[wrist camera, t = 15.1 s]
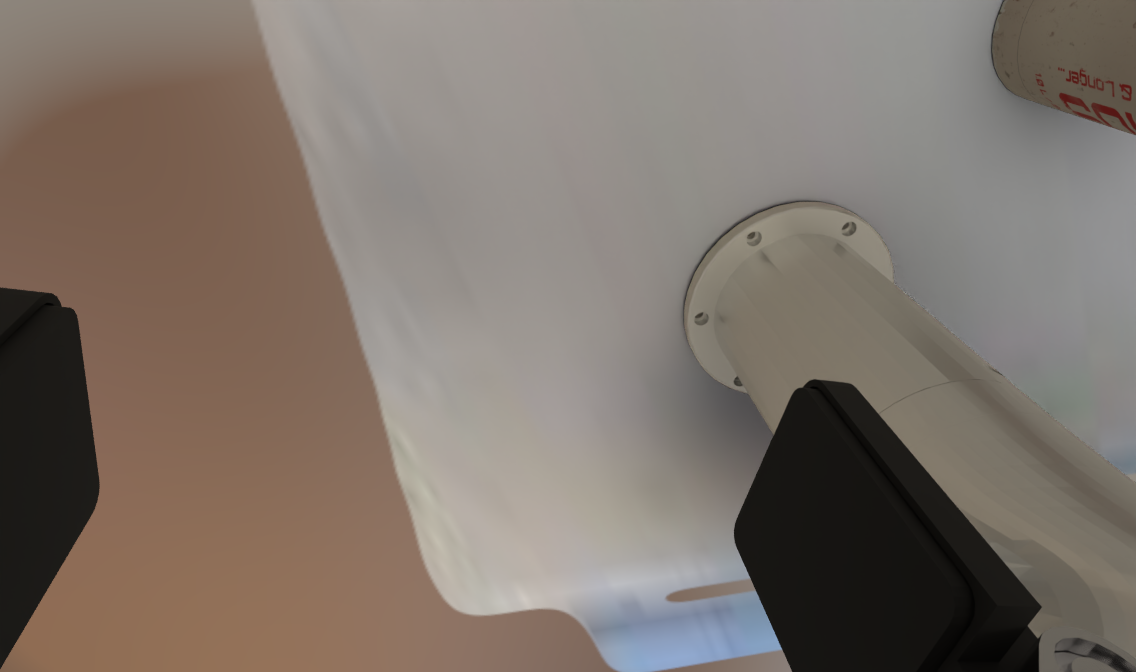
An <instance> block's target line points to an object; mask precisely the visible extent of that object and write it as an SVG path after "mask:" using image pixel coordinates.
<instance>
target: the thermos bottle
mask: <svg viewBox="0 0 1136 672" xmlns="http://www.w3.org/2000/svg"><path fill="white" fill-rule="evenodd" d="M992 54H993V61H994V66H995V69H996V71H997V74H998V77H999V78H1000V80H1001V81H1002V82H1003V84H1004V85H1005V87H1006V88H1008V89H1009V90H1010V91H1011V92H1013V93H1014V94H1015V95H1018V96H1020V97H1023V98H1025V99H1028V100H1031V101H1034V102H1037V103H1040V104H1043V105H1046V106H1049V107H1052V108H1055V109H1058V110H1061V111H1064V112H1067V113H1070V114H1073V115H1076V116H1079V117H1082V118H1085V119H1088V120H1091V121H1094V122H1097V123H1100V124H1103V125H1106V126H1109V127H1112V128H1115V129H1118V130H1121V131H1124V132H1127V133H1130V134H1133V135H1136V0H1004V2H1003V5H1002V7H1001V10H1000V12H999V15H998V17H997V20H996V24H995V29H994V33H993V43H992Z"/></svg>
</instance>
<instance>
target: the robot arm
mask: <svg viewBox="0 0 1136 672" xmlns="http://www.w3.org/2000/svg"><path fill="white" fill-rule="evenodd" d="M751 232H752V234H751V235H750V236H748V235H749V234H750V233H751ZM698 313H699V314H698ZM684 327H685V331H686V335H687V339H688V343H689V345H690V347H691V349H692V351H693V353H694V355H695V357H696V358H697V360H698V361H699V363H700V364H701V366H702V367H703V369H704V370H705V371H706V372H707V373H708V374H709V375H711V376H712V377H713V378H714V379H715V380H716V381H718V382H720V383H721V384H723V385H725V386H727V387H728V388H731V389H734V390H737V391H740V392H743V393H748V394H749V396H750V397H751V399H752V401H753V402H754V404H755V405H756V407H757V409H758V410H759V412H760V414H761V415H762V417H763V419H764V420H765V422H766V423H767V425H768V427H769V428H770V430H771V432H772V433H773V435H774V436H773V438H772V440H771V443H770V445H769V447H768V449H767V452H766V454H765V456H764V458H763V461H762V463H761V465H760V467H759V470H758V472H757V474H756V477H755V479H754V481H753V483H752V486H751V488H750V490H749V492H748V495H747V497H746V499H745V501H744V504H743V506H742V508H741V510H740V513H739V515H738V517H737V520H736V523H735V528H734V538H735V544H736V547H737V549H738V551H739V554H740V556H741V558H742V560H743V563H744V565H745V567H746V569H747V572H748V574H749V576H750V578H751V580H752V583H753V585H754V587H755V589H756V592H757V594H758V596H759V598H760V601H761V603H762V605H763V607H764V610H765V612H766V614H767V616H768V618H769V621H770V623H771V625H772V627H773V630H774V632H775V634H776V636H777V639H778V641H779V643H780V645H781V648H782V650H783V652H784V654H785V656H786V659H787V661H788V663H789V665H790V668H791V670H792V672H1136V482H1134V481H1133V480H1131V479H1130V478H1129V477H1127V476H1126V475H1125V474H1124V473H1122V472H1121V471H1120V470H1118V469H1117V468H1116V467H1115V466H1113V465H1112V464H1111V463H1110V462H1108V461H1107V460H1106V459H1104V458H1103V457H1102V456H1101V455H1099V454H1098V453H1097V452H1095V451H1094V450H1093V449H1092V448H1090V447H1089V446H1088V445H1087V444H1085V443H1084V442H1083V441H1081V440H1080V439H1079V438H1078V437H1076V436H1075V435H1074V434H1073V433H1071V432H1070V431H1069V430H1067V429H1066V428H1065V427H1064V426H1063V425H1061V424H1060V423H1059V422H1058V421H1057V420H1055V419H1054V418H1053V417H1052V416H1050V415H1049V414H1048V413H1047V412H1046V411H1044V410H1043V409H1042V408H1041V407H1040V406H1039V405H1037V404H1036V403H1035V402H1034V401H1033V400H1031V399H1030V398H1029V397H1028V396H1027V395H1025V394H1024V393H1023V392H1021V391H1020V390H1019V389H1018V388H1017V387H1015V386H1014V385H1013V384H1012V383H1011V382H1010V381H1008V380H1007V379H1006V378H1005V377H1004V376H1003V375H1002V374H1000V373H999V372H998V371H997V370H996V369H994V368H993V367H992V366H991V365H990V364H989V363H987V362H986V361H985V360H984V359H983V358H981V357H980V356H979V355H978V354H977V353H975V352H974V351H973V350H972V349H971V348H970V347H968V346H967V345H966V344H965V343H964V342H962V341H961V340H960V339H959V338H958V337H956V336H955V335H954V334H953V333H952V332H951V331H949V330H948V329H947V328H946V327H945V326H943V325H942V324H941V323H940V322H939V321H937V320H936V319H935V318H934V317H933V316H931V315H930V314H929V313H928V312H927V311H926V310H924V309H923V308H922V307H921V306H920V305H918V304H917V303H916V302H915V301H914V300H912V299H911V298H910V297H909V296H908V295H907V294H905V293H904V292H903V291H902V290H901V289H899V288H898V287H897V286H896V285H895V284H894V274H893V264H892V260H891V257H890V253H889V250H888V248H887V246H886V245H885V243H884V241H883V240H882V238H881V236H880V235H879V234H878V233H877V232H876V231H875V230H874V229H873V228H872V227H871V226H870V225H869V224H868V223H867V222H866V221H864V220H863V219H862V218H860V217H859V216H857V215H856V214H855V213H853V212H850V211H848V210H846V209H844V208H842V207H839V206H837V205H832V204H827V203H822V202H796V203H790V204H785V205H780V206H776V207H773V208H771V209H768V210H766V211H763V212H760V213H758V214H756V215H754V216H752V217H750V218H749V219H747V220H745V221H743V222H742V223H740V224H738V225H737V226H736V227H734V228H733V229H732V230H731V231H730V232H728V233H727V234H726V235H725V236H723V237H722V238H721V239H720V240H719V241H718V242H717V243H716V244H715V246H714V247H713V248H712V249H711V250H710V251H709V252H708V253H707V255H706V256H705V258H704V259H703V261H702V262H701V264H700V266H699V267H698V269H697V270H696V272H695V274H694V276H693V279H692V281H691V284H690V286H689V289H688V292H687V297H686V302H685V307H684ZM98 495H99V475H98V468H97V460H96V452H95V445H94V437H93V430H92V423H91V415H90V408H89V400H88V392H87V385H86V377H85V370H84V362H83V354H82V347H81V340H80V332H79V325H78V319H77V315H76V313H75V311H74V310H73V309H71V308H67V307H62V306H61V303H60V301H59V300H58V298H57V296H55V295H54V294H52V293H44V292H35V291H26V290H17V289H8V288H0V669H1V667H2V665H3V663H4V662H5V660H6V658H7V657H8V655H9V653H10V652H11V650H12V648H13V647H14V645H15V643H16V642H17V640H18V638H19V636H20V635H21V633H22V631H23V630H24V628H25V626H26V625H27V623H28V621H29V619H30V618H31V616H32V615H33V613H34V611H35V610H36V608H37V606H38V604H39V603H40V601H41V599H42V598H43V596H44V594H45V593H46V591H47V589H48V588H49V586H50V584H51V583H52V581H53V579H54V578H55V576H56V574H57V572H58V571H59V569H60V567H61V566H62V564H63V562H64V561H65V559H66V557H67V556H68V554H69V552H70V551H71V549H72V547H73V545H74V544H75V542H76V540H77V539H78V537H79V535H80V534H81V532H82V530H83V529H84V527H85V525H86V524H87V522H88V520H89V519H90V517H91V515H92V513H93V511H94V509H95V506H96V503H97V500H98Z"/></svg>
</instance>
